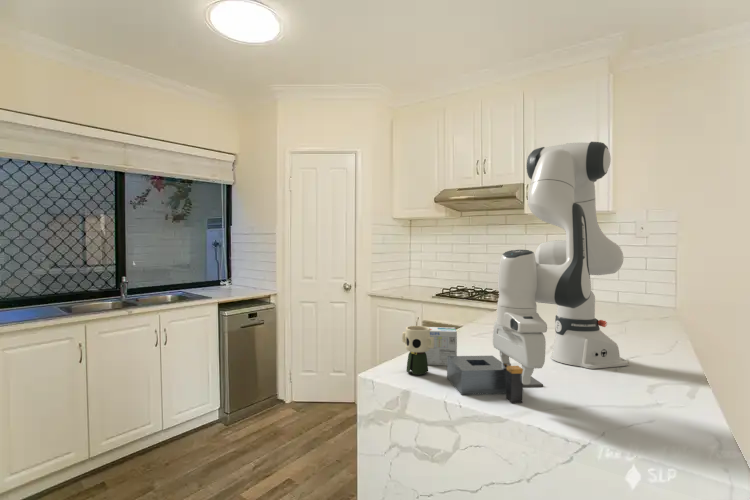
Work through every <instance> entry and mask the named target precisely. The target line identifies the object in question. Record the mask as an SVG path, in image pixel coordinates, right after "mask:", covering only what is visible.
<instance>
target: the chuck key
mask: <svg viewBox="0 0 750 500" xmlns="http://www.w3.org/2000/svg"><path fill="white" fill-rule="evenodd" d="M522 372H523V369H522V366H519V365H511V366H507V376H506V394H505V400H507V401H508V403H510V404H522V403H523V402H524V401H523V393H524V389H523V388H524V387H523V383H521V382H520V375H522Z"/></svg>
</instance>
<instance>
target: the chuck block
mask: <svg viewBox="0 0 750 500" xmlns="http://www.w3.org/2000/svg"><path fill="white" fill-rule="evenodd" d="M506 376H507V371H504V370H503V369H502V362H501V360H500V359H498V358H496V357H495V356H494V355H457V356H447V365H446V378H447V379H448V381H449V382H450V383H451V385H453V386H454V388H455V389H456V390H457V392H458V393H459V394H460V395H462V396H464V395H467V396H469V395H506Z"/></svg>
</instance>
